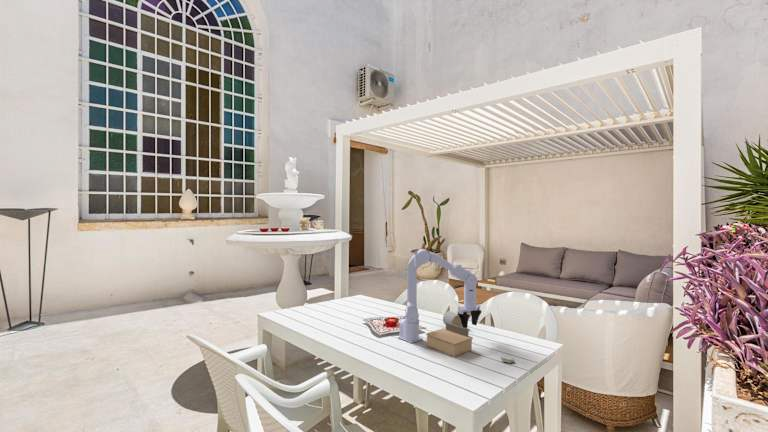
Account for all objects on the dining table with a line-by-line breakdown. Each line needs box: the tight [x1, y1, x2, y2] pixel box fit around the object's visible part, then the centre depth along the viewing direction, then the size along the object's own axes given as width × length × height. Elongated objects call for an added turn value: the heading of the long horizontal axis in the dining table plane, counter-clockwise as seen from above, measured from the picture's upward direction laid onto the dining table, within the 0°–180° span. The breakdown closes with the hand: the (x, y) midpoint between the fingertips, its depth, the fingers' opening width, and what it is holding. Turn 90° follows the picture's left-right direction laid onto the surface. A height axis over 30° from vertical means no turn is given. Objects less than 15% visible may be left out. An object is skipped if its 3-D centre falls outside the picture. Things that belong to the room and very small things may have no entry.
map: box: [500, 357, 515, 364], centre depth 156 cm, size 5×20×1 cm, turn 169°
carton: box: [426, 335, 473, 358], centre depth 162 cm, size 16×12×5 cm
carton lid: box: [425, 323, 474, 345], centre depth 162 cm, size 17×13×4 cm
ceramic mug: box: [442, 310, 462, 327], centre depth 194 cm, size 11×8×8 cm
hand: (469, 326), depth 172 cm, fingers open, 7 cm apart
